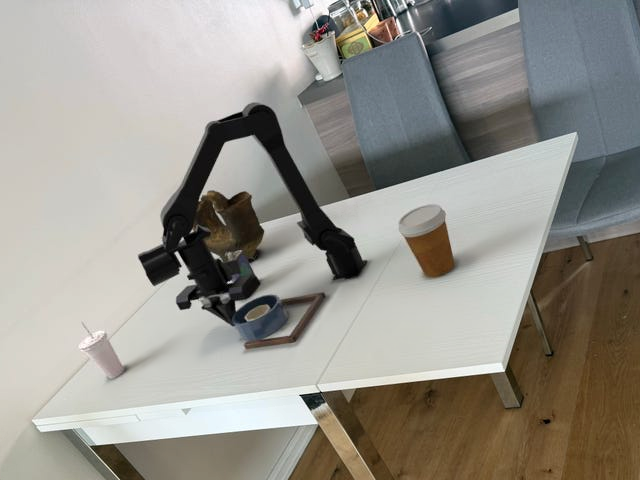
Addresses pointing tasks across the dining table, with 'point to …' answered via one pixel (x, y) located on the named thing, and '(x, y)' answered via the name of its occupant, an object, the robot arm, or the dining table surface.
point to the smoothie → (101, 352)
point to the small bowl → (257, 312)
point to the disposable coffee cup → (428, 239)
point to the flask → (240, 264)
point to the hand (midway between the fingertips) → (235, 325)
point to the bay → (317, 300)
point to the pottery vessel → (230, 224)
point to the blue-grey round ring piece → (260, 318)
